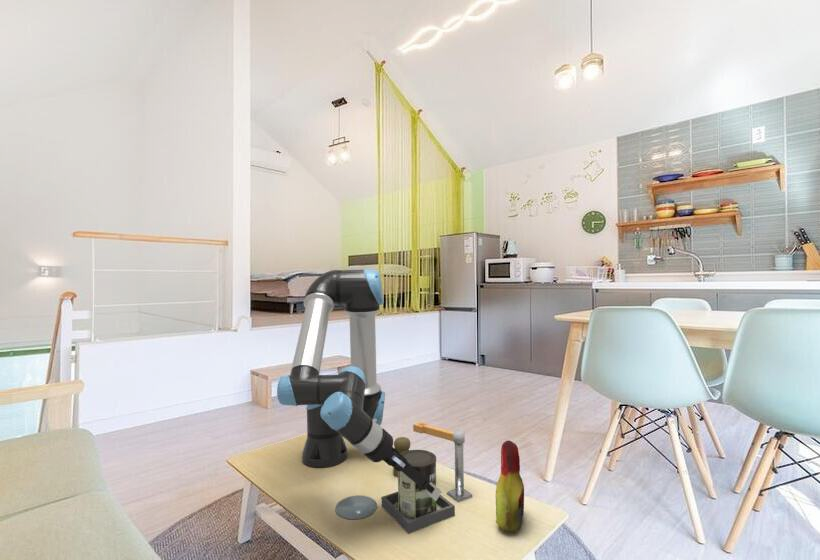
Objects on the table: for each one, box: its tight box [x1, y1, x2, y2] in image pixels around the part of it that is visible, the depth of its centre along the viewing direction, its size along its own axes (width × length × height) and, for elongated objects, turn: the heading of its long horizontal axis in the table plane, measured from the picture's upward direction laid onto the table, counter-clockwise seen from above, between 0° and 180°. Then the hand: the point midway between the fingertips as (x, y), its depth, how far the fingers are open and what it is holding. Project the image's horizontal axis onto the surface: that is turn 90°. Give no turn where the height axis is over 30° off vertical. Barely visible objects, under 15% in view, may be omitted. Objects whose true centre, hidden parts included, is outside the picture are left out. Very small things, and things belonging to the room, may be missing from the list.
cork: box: [392, 436, 411, 479], centre depth 127 cm, size 6×6×11 cm
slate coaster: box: [335, 495, 378, 521], centre depth 108 cm, size 11×11×1 cm
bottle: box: [495, 440, 525, 532], centre depth 101 cm, size 12×6×20 cm, turn 149°
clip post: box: [446, 443, 473, 503], centre depth 114 cm, size 5×5×15 cm
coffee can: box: [397, 449, 438, 520], centre depth 106 cm, size 10×10×14 cm
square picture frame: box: [381, 491, 456, 535], centre depth 106 cm, size 14×14×2 cm
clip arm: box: [412, 421, 466, 444], centre depth 118 cm, size 3×17×3 cm, turn 51°
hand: (426, 486), depth 108 cm, fingers closed on coffee can, 10 cm apart
